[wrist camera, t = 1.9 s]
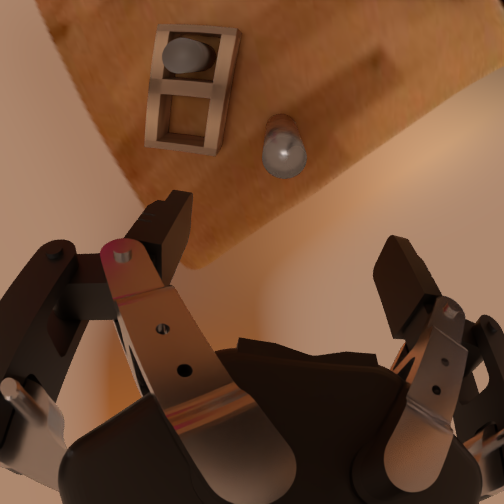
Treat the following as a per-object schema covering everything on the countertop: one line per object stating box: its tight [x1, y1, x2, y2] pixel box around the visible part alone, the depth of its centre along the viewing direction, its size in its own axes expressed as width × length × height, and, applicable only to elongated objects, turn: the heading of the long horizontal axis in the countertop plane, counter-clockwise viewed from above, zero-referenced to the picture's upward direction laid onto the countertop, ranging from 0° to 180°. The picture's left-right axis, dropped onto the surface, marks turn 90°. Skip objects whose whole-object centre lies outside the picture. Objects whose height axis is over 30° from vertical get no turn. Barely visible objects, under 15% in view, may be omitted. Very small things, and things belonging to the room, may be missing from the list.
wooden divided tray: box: [144, 24, 242, 156], centre depth 23 cm, size 12×7×6 cm, turn 170°
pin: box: [262, 114, 307, 179], centre depth 23 cm, size 3×3×10 cm
